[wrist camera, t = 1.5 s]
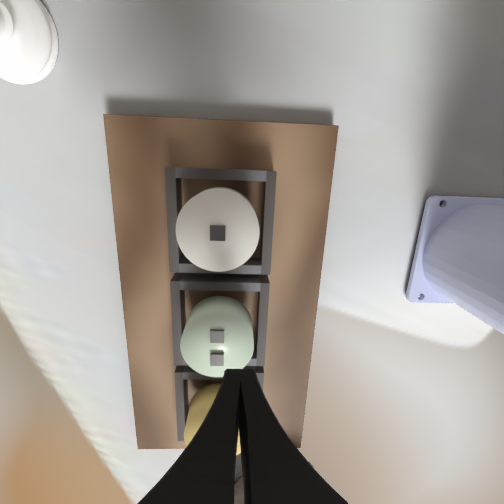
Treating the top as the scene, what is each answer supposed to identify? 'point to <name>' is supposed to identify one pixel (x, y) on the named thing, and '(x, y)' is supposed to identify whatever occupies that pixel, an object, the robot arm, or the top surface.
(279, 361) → the button board
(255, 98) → the top surface
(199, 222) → the button one
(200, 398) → the button three
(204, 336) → the button two
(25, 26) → the chess piece
